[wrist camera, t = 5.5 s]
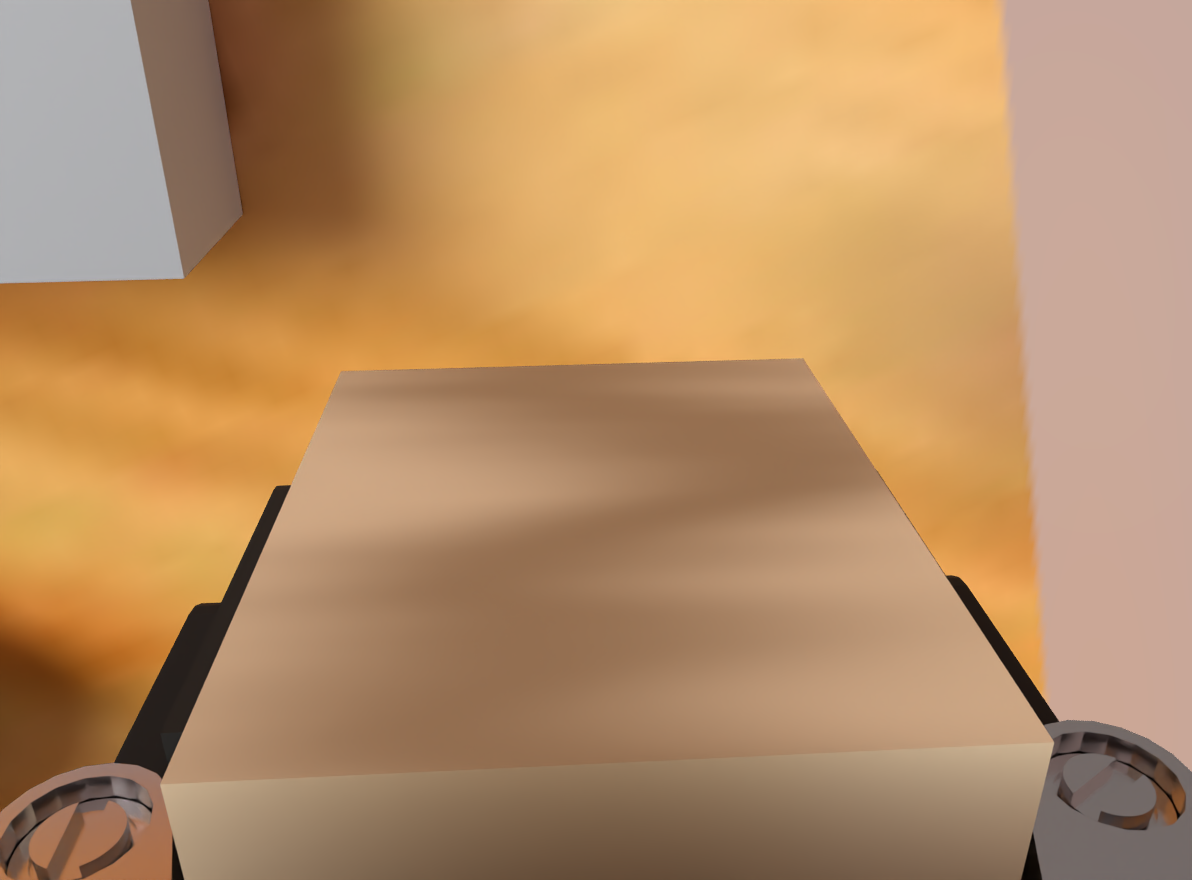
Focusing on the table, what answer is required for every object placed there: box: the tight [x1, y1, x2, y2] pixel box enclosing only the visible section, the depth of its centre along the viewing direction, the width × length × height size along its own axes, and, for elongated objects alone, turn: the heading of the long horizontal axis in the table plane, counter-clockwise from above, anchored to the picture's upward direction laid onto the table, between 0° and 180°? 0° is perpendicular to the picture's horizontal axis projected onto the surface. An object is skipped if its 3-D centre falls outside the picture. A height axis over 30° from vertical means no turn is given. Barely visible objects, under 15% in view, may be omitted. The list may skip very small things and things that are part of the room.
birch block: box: [160, 358, 1054, 880], centre depth 10 cm, size 5×5×6 cm
